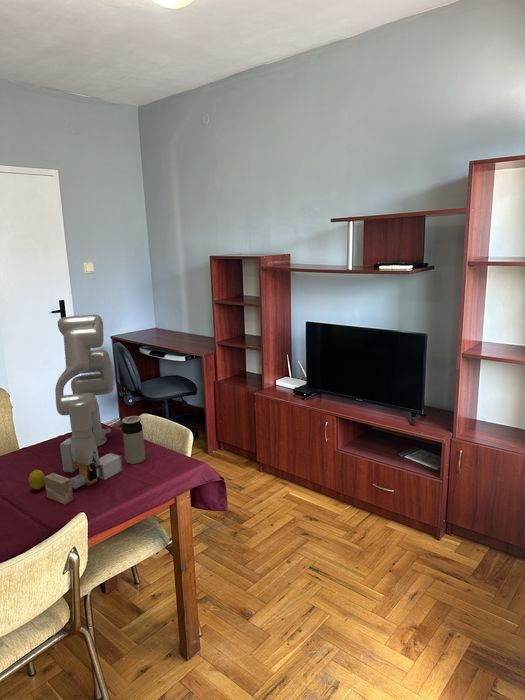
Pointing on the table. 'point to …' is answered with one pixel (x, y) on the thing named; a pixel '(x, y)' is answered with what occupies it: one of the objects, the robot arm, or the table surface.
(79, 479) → the multicoloured angled piece
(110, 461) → the sleeve
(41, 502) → the table surface
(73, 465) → the skincare box
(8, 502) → the table surface
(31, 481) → the lemon
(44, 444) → the table surface
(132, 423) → the travel mug
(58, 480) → the socket block
